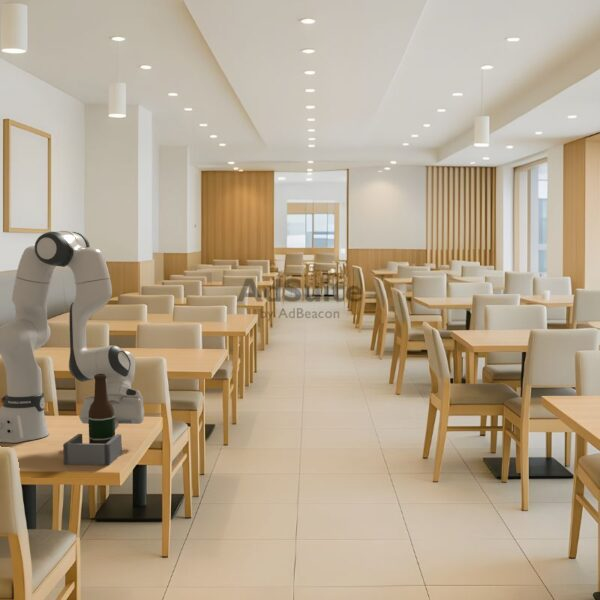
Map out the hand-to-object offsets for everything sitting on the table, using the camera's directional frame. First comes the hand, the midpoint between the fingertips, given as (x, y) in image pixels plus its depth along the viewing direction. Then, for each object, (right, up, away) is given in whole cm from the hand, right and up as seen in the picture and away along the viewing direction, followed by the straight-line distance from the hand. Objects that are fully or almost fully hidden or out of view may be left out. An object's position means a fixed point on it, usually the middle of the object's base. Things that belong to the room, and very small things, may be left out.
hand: (107, 434), depth 249 cm
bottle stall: (-1, -5, -12) cm, 13 cm away
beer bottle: (-1, -5, -4) cm, 6 cm away
